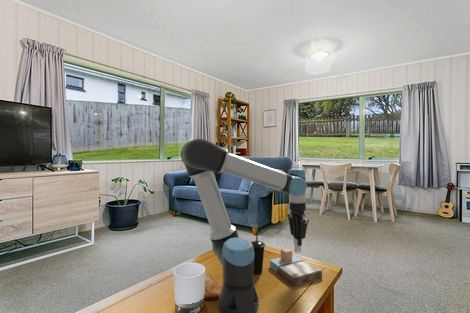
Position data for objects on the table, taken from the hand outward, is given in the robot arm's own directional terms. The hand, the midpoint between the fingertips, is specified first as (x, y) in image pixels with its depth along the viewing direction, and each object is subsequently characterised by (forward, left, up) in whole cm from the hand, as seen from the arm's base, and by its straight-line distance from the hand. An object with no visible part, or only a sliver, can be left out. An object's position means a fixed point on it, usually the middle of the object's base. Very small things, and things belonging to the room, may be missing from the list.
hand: (298, 251), depth 114 cm
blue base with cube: (0, +8, -11) cm, 14 cm away
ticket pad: (0, -1, -11) cm, 11 cm away
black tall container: (-16, +10, -11) cm, 22 cm away
